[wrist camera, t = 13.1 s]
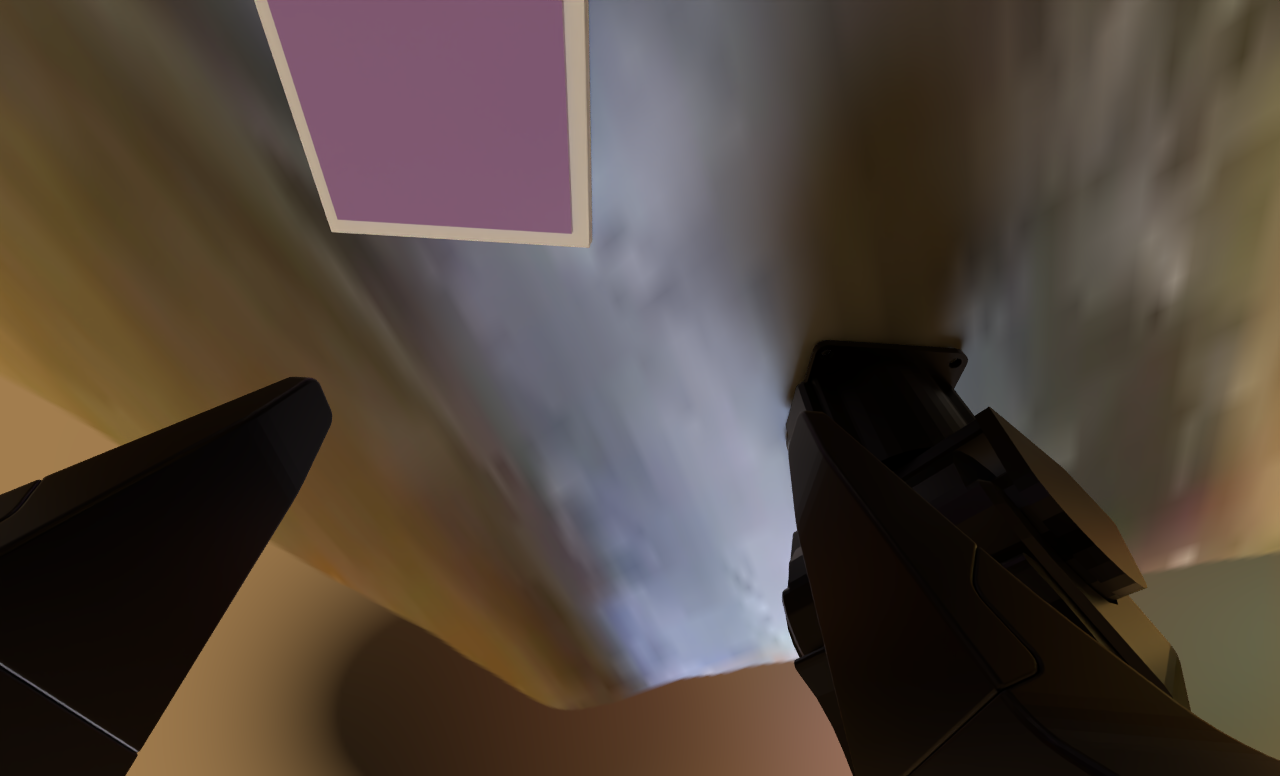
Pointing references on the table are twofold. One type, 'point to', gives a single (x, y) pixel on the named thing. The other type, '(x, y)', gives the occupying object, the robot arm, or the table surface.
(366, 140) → the ink pad
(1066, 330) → the table surface
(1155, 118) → the table surface
